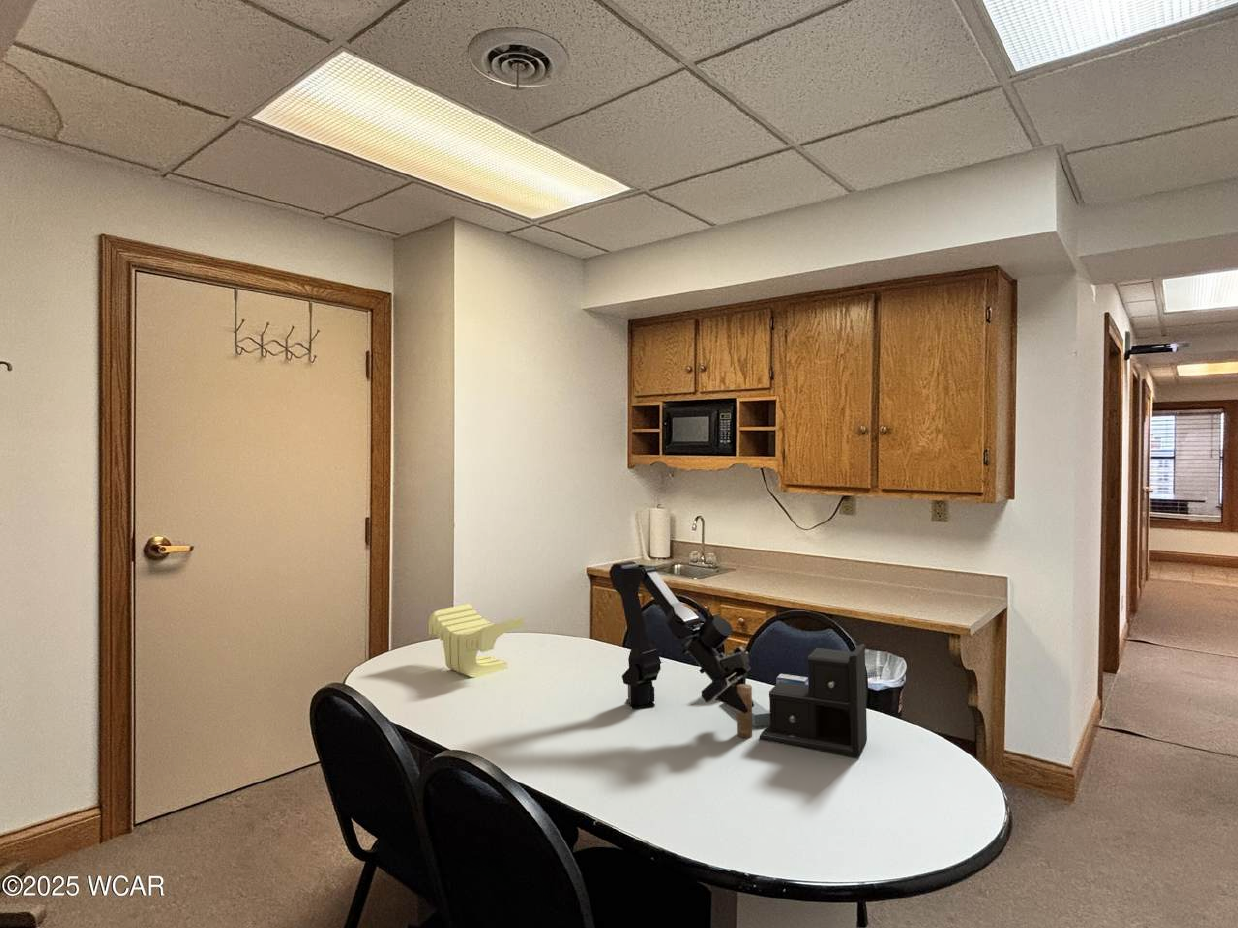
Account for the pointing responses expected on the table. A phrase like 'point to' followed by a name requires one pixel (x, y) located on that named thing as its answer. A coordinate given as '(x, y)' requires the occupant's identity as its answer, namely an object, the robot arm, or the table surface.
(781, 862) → the table surface
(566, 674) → the table surface
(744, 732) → the walnut dowel
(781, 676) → the medicine box
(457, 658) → the slatted curved stool
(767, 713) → the ridge bar
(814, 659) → the black desk organizer
